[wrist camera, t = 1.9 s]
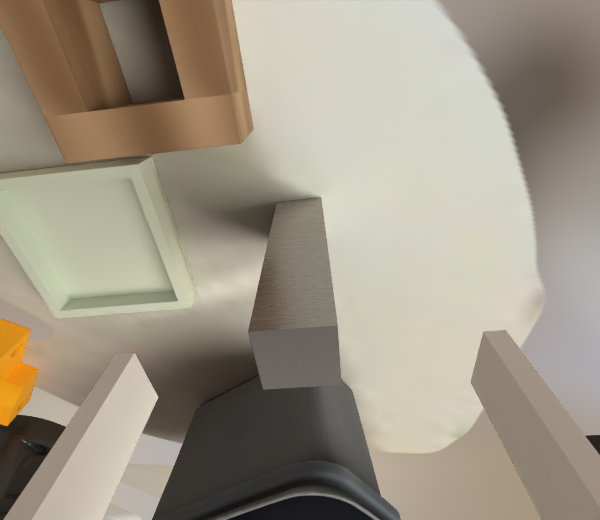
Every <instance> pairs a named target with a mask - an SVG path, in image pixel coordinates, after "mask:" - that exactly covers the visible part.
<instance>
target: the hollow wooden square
mask: <svg viewBox="0 0 600 520" xmlns="http://www.w3.org/2000/svg"><path fill="white" fill-rule="evenodd" d="M109 1H116V0H0V25H1V27H2V29H3V31H4V33H5V36H6V38H7V40H8V42H9V44H10V46H11V48H12V50H13V52H14V54H15V57H16V59H17V61H18V63H19V65H20V67H21V69H22V71H23V73H24V75H25V78H26V80H27V82H28V84H29V86H30V88H31V90H32V92H33V94H34V96H35V99H36V101H37V103H38V105H39V107H40V109H41V111H42V113H43V115H44V117H45V119H46V122H47V124H48V126H49V128H50V130H51V132H52V134H53V136H54V138H55V140H56V143H57V145H58V147H59V149H60V151H61V153H62V155H63V157H64V159H65V161H66V163H74V162H83V161H92V160H101V159H110V158H119V157H127V156H136V155H145V154H154V153H163V152H172V151H180V150H189V149H198V148H207V147H216V146H225V145H234V144H241V143H242V142H243V141H244V140H245V138H246V137H247V136H248V135H249V134H250V133H251V132H252V131H253V123H252V117H251V111H250V106H249V100H248V94H247V88H246V82H245V76H244V71H243V65H242V59H241V53H240V47H239V41H238V36H237V30H236V24H235V18H234V12H233V6H232V1H231V0H159V3H160V7H161V11H162V14H163V18H164V22H165V26H166V30H167V33H168V37H169V41H170V45H171V49H172V52H173V56H174V60H175V64H176V68H177V71H178V75H179V79H180V83H181V87H182V90H183V94H184V97H181V98H173V99H165V100H157V101H149V102H141V103H132V100H131V97H130V94H129V91H128V88H127V85H126V82H125V79H124V76H123V73H122V71H121V68H120V65H119V62H118V59H117V56H116V53H115V50H114V47H113V44H112V41H111V38H110V35H109V32H108V29H107V26H106V23H105V20H104V18H103V15H102V12H101V9H100V6H99V3H103V2H109Z"/></svg>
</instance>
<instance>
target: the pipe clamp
mask: <svg viewBox="0 0 600 520" xmlns="http://www.w3.org/2000/svg"><path fill="white" fill-rule="evenodd" d="M30 332H31V329H28V328H26V327H23V326H21V325H18V324H16V323H13V322H11V321H8V320H5V319H2V320H0V424H1V425H4V426H8V425H9V424H10V423H11V421H12V420H13V419H14V418H15V417H16V415H17V414H18V413H19V412H20V410H21V409H22V408H23V407H24V406H25V405H26V404H27V402H28V401H29V400H30V397H31V394H32V391H33V388H34V383H35V380H36V377H37V374H38V371H39V369H37V368H34V367H31V366H29V365H26V364H23V363H22V359H23V355H24V352H25V348H26V344H27V341H28V340H29V335H30Z"/></svg>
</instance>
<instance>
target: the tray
mask: <svg viewBox="0 0 600 520" xmlns="http://www.w3.org/2000/svg"><path fill="white" fill-rule="evenodd" d="M0 234H1V236H2V237H3V239H4V240H5V242H6V243H7V245H8V246H9V248H10V249H11V251H12V252H13V254H14V255H15V257H16V258H17V260H18V262H19V263H20V265H21V266H22V268H23V269H24V271H25V272H26V274H27V275H28V277H29V278H30V280H31V281H32V283H33V284H34V286H35V288H36V289H37V291H38V292H39V294H40V295H41V297H42V298H43V300H44V301H45V303H46V304H47V306H48V307H49V309H50V310H51V312H52V314H53V315H54V317H55V318H56V319H58V318H70V317H83V316H96V315H108V314H121V313H133V312H146V311H159V310H171V309H184V308H191V306H192V304H193V302H194V299H195V297H196V295H197V293H198V291H197V288H196V285H195V282H194V279H193V276H192V273H191V270H190V267H189V264H188V261H187V258H186V255H185V252H184V250H183V247H182V244H181V241H180V238H179V235H178V232H177V229H176V226H175V223H174V220H173V217H172V214H171V211H170V208H169V205H168V202H167V199H166V196H165V193H164V190H163V187H162V184H161V181H160V178H159V175H158V172H157V170H156V167H155V164H154V161H153V158H152V156H151V157H142V158H133V159H124V160H115V161H106V162H98V163H89V164H80V165H71V166H62V167H53V168H44V169H35V170H26V171H18V172H9V173H0Z"/></svg>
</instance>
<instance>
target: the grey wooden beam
mask: <svg viewBox="0 0 600 520" xmlns="http://www.w3.org/2000/svg"><path fill="white" fill-rule="evenodd" d="M248 333H249V337H250V341H251V345H252V348H253V352H254V356H255V360H256V364H257V368H258V372H259V376H260V379H261V383H262V387H263V390H266V389H283V388H299V387H316V386H333V385H341V372H340V356H339V341H338V325H337V318H336V310H335V302H334V294H333V286H332V278H331V270H330V263H329V255H328V247H327V239H326V231H325V223H324V216H323V208H322V200H321V198H314V199H303V200H293V201H283V202H277V203H276V207H275V212H274V217H273V221H272V226H271V230H270V235H269V239H268V244H267V248H266V253H265V258H264V262H263V267H262V271H261V276H260V280H259V285H258V290H257V294H256V299H255V303H254V308H253V312H252V317H251V322H250V326H249V331H248Z"/></svg>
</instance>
